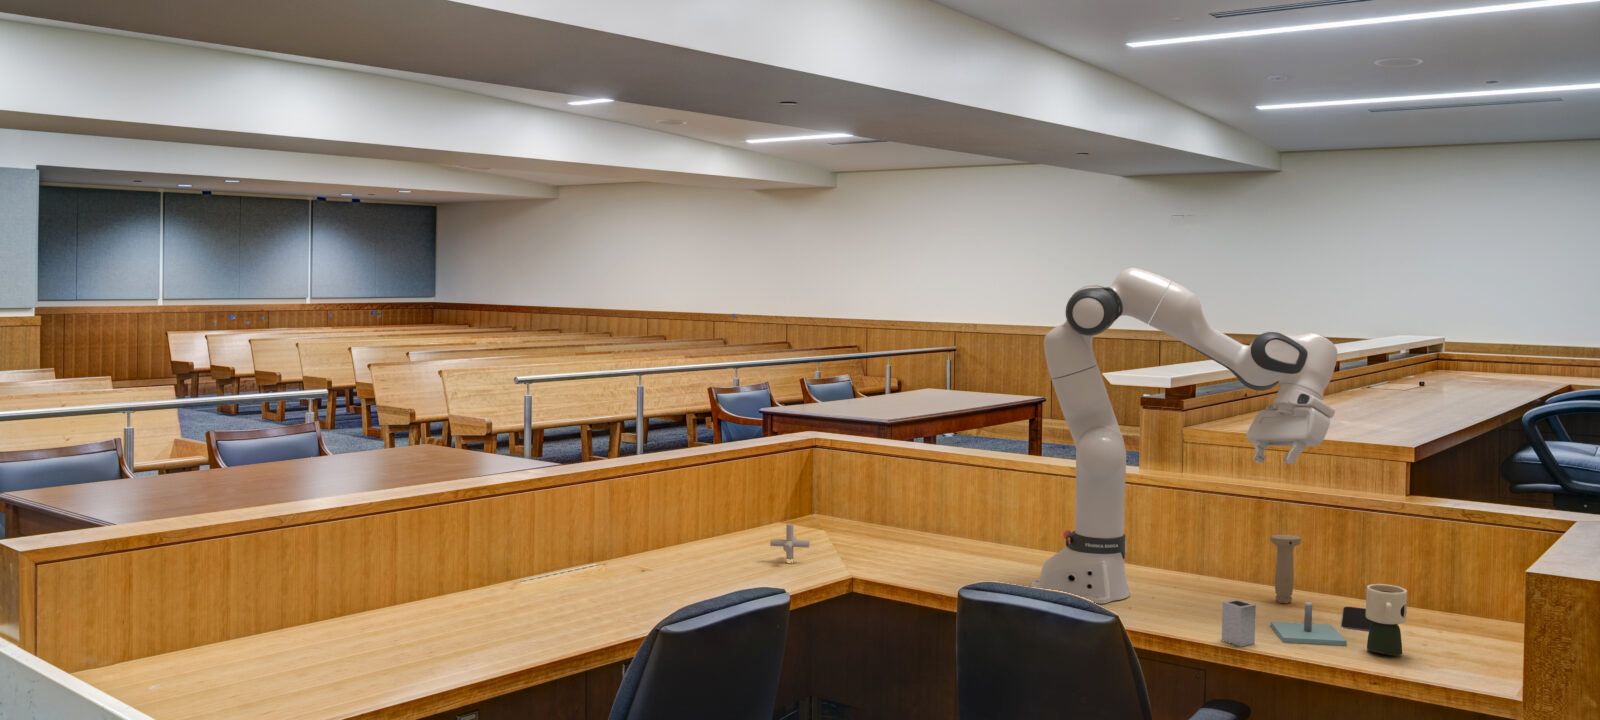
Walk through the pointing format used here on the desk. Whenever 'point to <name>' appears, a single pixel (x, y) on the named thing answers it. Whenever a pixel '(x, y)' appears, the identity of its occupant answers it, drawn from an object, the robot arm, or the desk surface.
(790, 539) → the pipe connector
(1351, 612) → the smartphone
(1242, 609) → the grey hollow box
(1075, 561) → the robot arm
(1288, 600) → the handle
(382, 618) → the desk surface
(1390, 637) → the character mug
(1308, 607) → the post base
